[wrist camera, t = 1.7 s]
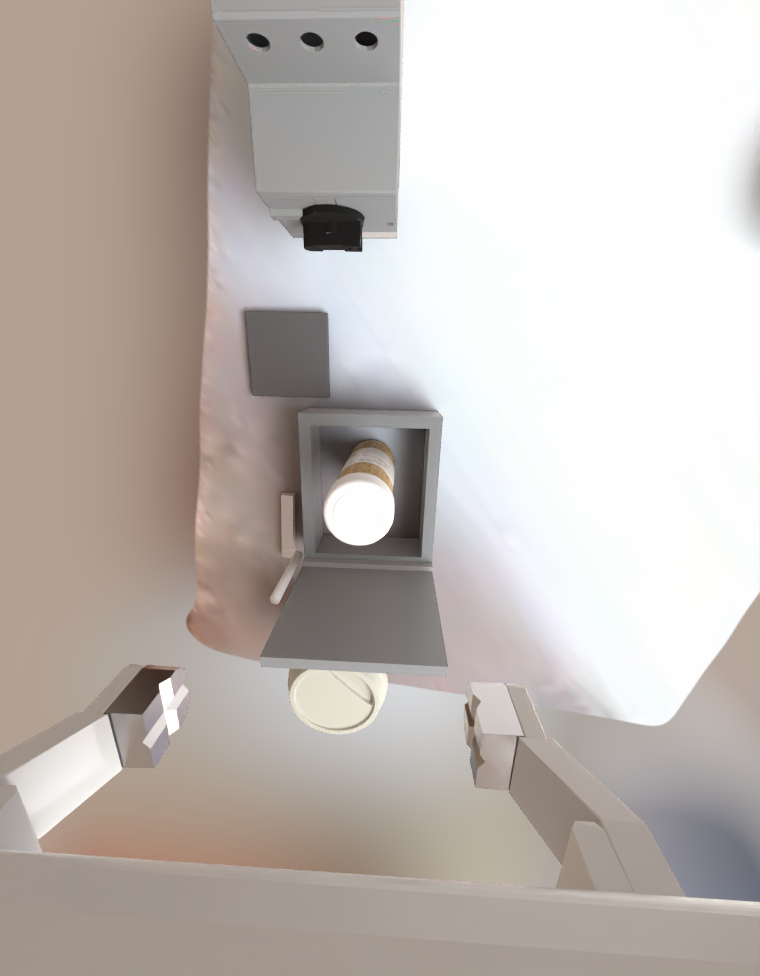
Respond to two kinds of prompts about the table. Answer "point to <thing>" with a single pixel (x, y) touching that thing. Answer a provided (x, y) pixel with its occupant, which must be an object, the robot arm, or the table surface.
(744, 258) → the table surface
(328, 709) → the coffee cup
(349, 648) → the case
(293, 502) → the rod
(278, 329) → the pad
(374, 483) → the sprinkles bottle
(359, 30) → the circuit breaker
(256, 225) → the table surface
